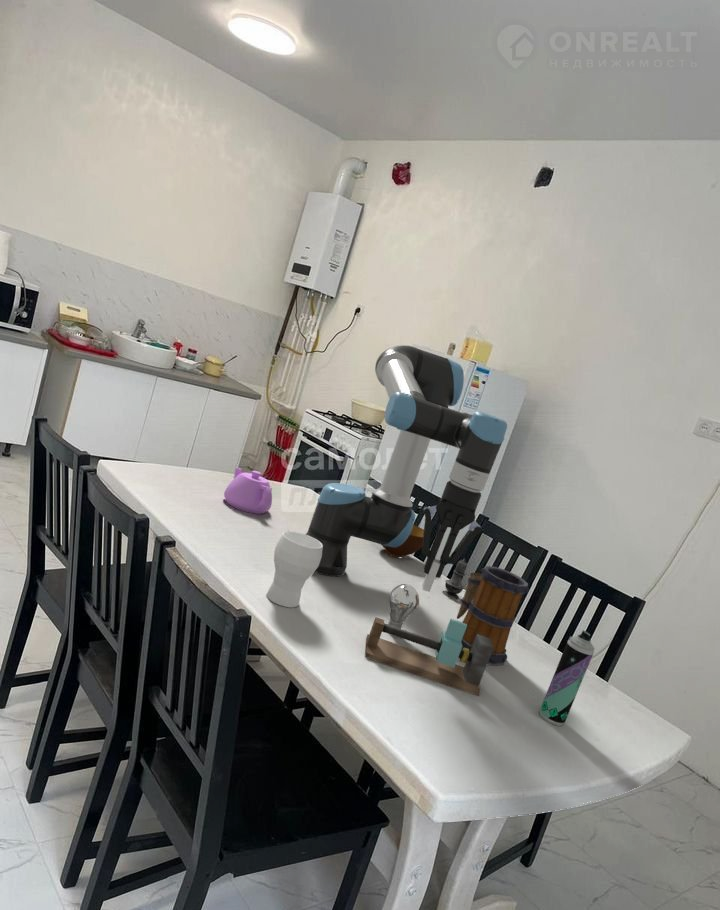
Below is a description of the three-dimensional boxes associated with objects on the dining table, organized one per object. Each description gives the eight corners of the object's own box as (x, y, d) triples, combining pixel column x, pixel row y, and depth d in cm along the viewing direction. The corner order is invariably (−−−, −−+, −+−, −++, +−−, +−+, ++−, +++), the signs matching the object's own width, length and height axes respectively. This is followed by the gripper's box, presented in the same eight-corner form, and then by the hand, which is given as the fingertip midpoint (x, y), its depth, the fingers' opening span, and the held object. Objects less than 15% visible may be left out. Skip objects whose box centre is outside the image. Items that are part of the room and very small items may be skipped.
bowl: (360, 547, 223) (370, 518, 222) (378, 540, 240) (387, 513, 238) (409, 569, 217) (420, 540, 216) (424, 560, 234) (434, 533, 232)
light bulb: (409, 634, 164) (426, 588, 163) (402, 642, 158) (419, 595, 156) (382, 621, 166) (399, 576, 164) (374, 629, 160) (391, 582, 158)
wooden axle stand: (364, 657, 143) (380, 613, 142) (366, 637, 153) (380, 597, 152) (478, 695, 144) (495, 652, 142) (472, 674, 154) (488, 633, 152)
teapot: (282, 521, 222) (294, 486, 220) (241, 517, 212) (253, 480, 210) (248, 496, 238) (259, 463, 236) (209, 491, 227) (220, 457, 226)
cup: (312, 605, 162) (332, 546, 159) (290, 614, 152) (311, 552, 150) (275, 585, 165) (294, 527, 163) (251, 594, 156) (271, 532, 154)
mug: (429, 622, 177) (456, 551, 174) (474, 629, 183) (501, 560, 180) (469, 663, 159) (499, 584, 157) (517, 669, 166) (547, 593, 163)
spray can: (535, 707, 148) (569, 623, 145) (558, 714, 148) (593, 630, 146) (543, 722, 142) (579, 634, 139) (568, 728, 143) (604, 641, 140)
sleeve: (436, 661, 146) (450, 623, 145) (434, 652, 150) (449, 615, 149) (454, 667, 146) (469, 629, 145) (452, 658, 150) (466, 621, 149)
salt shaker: (459, 601, 202) (473, 564, 201) (440, 594, 203) (454, 556, 201) (460, 596, 208) (474, 559, 206) (442, 588, 209) (455, 552, 207)
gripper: (436, 479, 139) (397, 584, 143) (497, 500, 139) (456, 605, 143) (434, 472, 147) (396, 572, 150) (492, 492, 147) (453, 592, 151)
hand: (425, 588), depth 147 cm, fingers closed
